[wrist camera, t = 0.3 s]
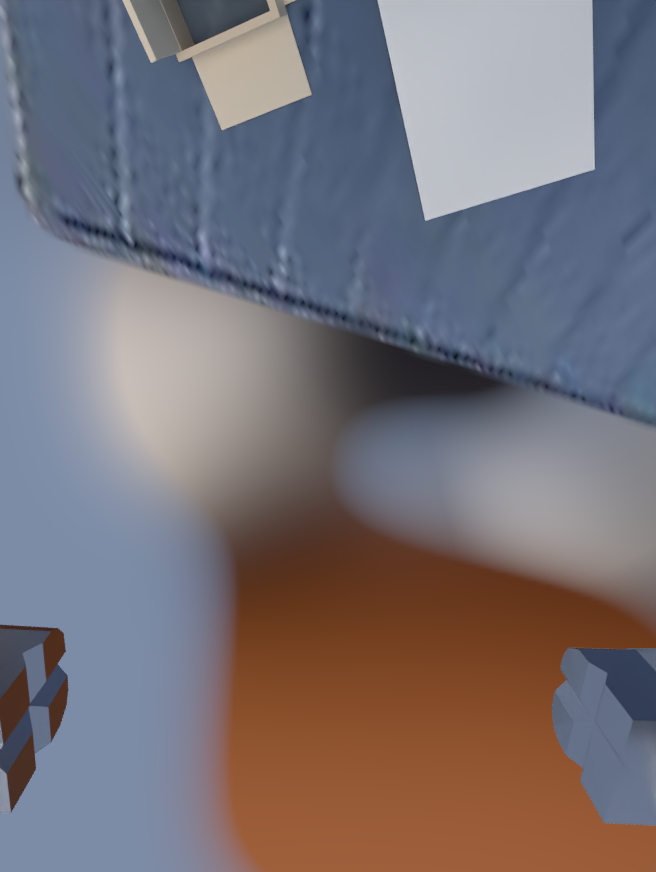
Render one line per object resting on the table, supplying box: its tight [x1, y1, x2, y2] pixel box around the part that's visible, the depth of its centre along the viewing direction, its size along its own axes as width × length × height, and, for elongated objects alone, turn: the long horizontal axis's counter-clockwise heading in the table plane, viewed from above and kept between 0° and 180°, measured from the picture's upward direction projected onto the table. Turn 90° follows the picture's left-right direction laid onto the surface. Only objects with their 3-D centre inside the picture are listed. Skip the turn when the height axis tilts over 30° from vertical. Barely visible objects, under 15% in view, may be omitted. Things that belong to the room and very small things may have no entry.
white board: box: [378, 0, 595, 221], centre depth 45 cm, size 20×16×1 cm
